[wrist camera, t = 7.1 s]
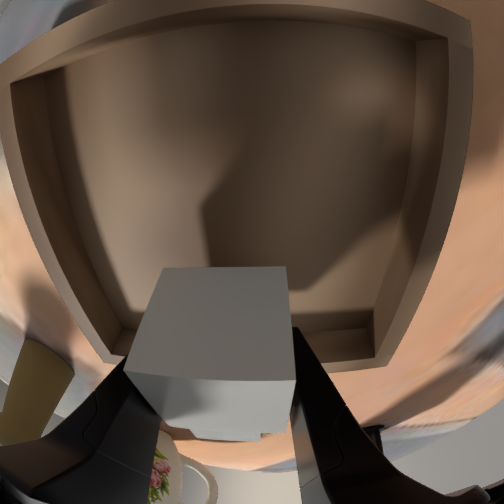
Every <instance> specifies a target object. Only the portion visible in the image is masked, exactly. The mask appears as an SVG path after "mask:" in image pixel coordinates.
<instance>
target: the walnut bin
mask: <svg viewBox="0 0 504 504" xmlns="http://www.w3.org/2000/svg"><path fill="white" fill-rule="evenodd" d="M472 98H473V48H472V34H471V24H470V21H469V20H467V19H465V18H463V17H461V16H459V15H457V14H455V13H453V12H451V11H449V10H447V9H444V8H442V7H440V6H437V5H435V4H433V3H430V2H428V1H425V0H114V1H111V2H108V3H106V4H103V5H101V6H99V7H96V8H94V9H92V10H89V11H87V12H85V13H83V14H81V15H79V16H77V17H75V18H73V19H71V20H69V21H67V22H65V23H63V24H61V25H59V26H57V27H56V28H54V29H52V30H50V31H49V32H47V33H45V34H44V35H42V36H40V37H39V38H37V39H35V40H34V41H32V42H31V43H29V44H28V45H26V46H25V47H23V48H22V49H20V50H19V51H18V52H16V53H15V54H13V55H12V56H11V57H9V58H8V59H7V60H5V61H4V62H3V63H2V64H0V134H1V139H2V144H3V149H4V153H5V158H6V162H7V166H8V169H9V173H10V177H11V180H12V184H13V187H14V190H15V193H16V196H17V200H18V202H19V205H20V208H21V211H22V214H23V217H24V219H25V222H26V224H27V227H28V229H29V232H30V234H31V237H32V239H33V241H34V244H35V246H36V248H37V251H38V253H39V255H40V257H41V259H42V261H43V263H44V266H45V268H46V270H47V272H48V274H49V276H50V277H51V279H52V281H53V283H54V285H55V287H56V289H57V291H58V292H59V294H60V296H61V298H62V300H63V301H64V303H65V305H66V306H67V308H68V310H69V311H70V313H71V315H72V316H73V318H74V320H75V321H76V323H77V324H78V326H79V327H80V329H81V331H82V332H83V334H84V335H85V337H86V338H87V340H88V341H89V342H90V344H91V345H92V347H93V348H94V350H95V351H96V352H97V354H98V355H99V356H100V358H101V359H102V361H103V362H104V363H109V364H115V365H118V364H119V363H120V362H121V361H122V359H123V358H124V357H125V356H126V355H127V354H128V353H129V352H130V349H131V347H132V344H133V341H134V339H135V336H136V333H137V331H138V328H139V326H140V323H141V320H142V318H143V315H144V313H145V310H146V308H147V305H148V303H149V300H150V298H151V296H152V293H153V291H154V288H155V286H156V284H157V281H158V279H159V277H160V275H161V272H162V270H163V268H185V267H268V266H286V273H287V282H288V292H289V303H290V313H291V324H292V326H297V327H298V328H299V329H300V331H301V332H302V334H303V336H304V337H305V339H306V340H307V342H308V344H309V345H310V347H311V348H312V350H313V352H314V353H315V355H316V357H317V358H318V360H319V361H320V363H321V365H322V366H323V368H324V369H325V371H326V373H336V372H346V371H355V370H363V369H370V368H377V367H384V366H387V365H388V363H389V361H390V360H391V358H392V356H393V354H394V353H395V351H396V349H397V347H398V346H399V344H400V342H401V340H402V338H403V336H404V334H405V333H406V331H407V329H408V327H409V325H410V323H411V321H412V319H413V317H414V315H415V313H416V310H417V308H418V306H419V304H420V302H421V300H422V297H423V295H424V293H425V291H426V288H427V286H428V283H429V281H430V279H431V276H432V274H433V271H434V269H435V266H436V263H437V261H438V258H439V255H440V252H441V250H442V247H443V244H444V241H445V238H446V235H447V232H448V228H449V225H450V222H451V218H452V215H453V211H454V208H455V204H456V200H457V196H458V192H459V188H460V183H461V179H462V174H463V169H464V164H465V158H466V152H467V146H468V139H469V132H470V123H471V112H472Z"/></svg>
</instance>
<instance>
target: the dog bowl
mask: <svg viewBox="0 0 504 504" xmlns="http://www.w3.org/2000/svg"><path fill="white" fill-rule="evenodd" d="M10 1H11V0H0V16H1V15H2V13H3V11H4V10H5V8H6V7H7V5H8V4H9V2H10Z"/></svg>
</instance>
